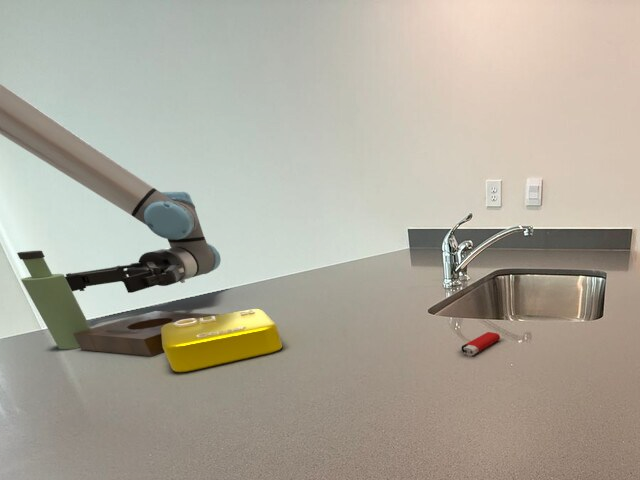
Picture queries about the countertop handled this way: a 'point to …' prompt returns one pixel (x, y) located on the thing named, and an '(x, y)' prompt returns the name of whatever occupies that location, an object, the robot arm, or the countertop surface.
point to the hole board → (132, 333)
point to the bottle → (53, 300)
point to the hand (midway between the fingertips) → (88, 287)
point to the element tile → (219, 339)
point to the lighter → (480, 343)
